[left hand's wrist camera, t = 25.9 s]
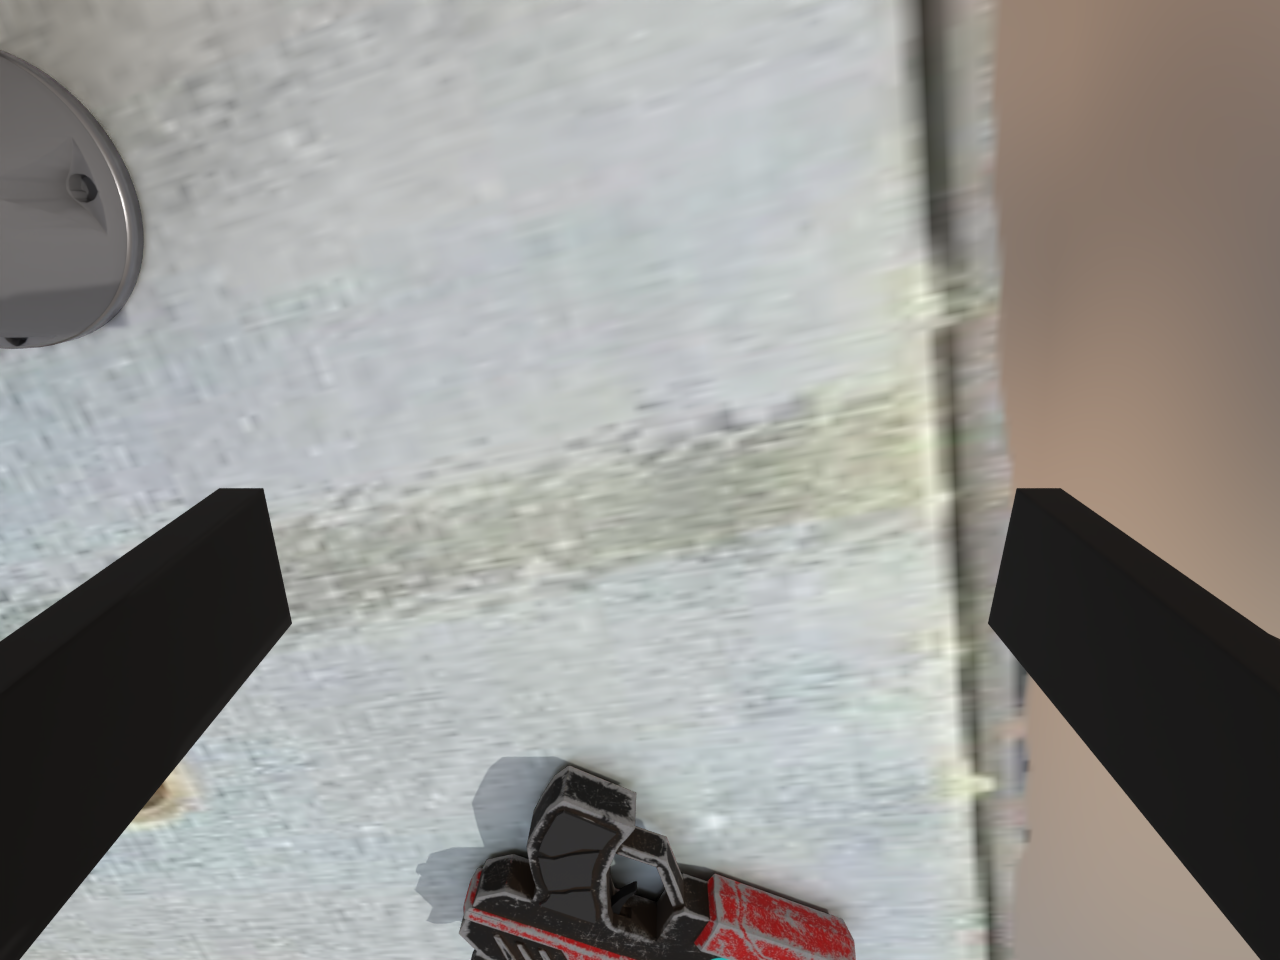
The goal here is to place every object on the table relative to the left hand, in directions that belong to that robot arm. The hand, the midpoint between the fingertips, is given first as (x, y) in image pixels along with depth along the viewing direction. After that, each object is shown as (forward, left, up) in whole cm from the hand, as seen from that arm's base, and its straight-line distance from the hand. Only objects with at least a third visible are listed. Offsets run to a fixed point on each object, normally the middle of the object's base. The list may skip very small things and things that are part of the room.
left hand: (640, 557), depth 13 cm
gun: (+35, +31, -30) cm, 56 cm away
